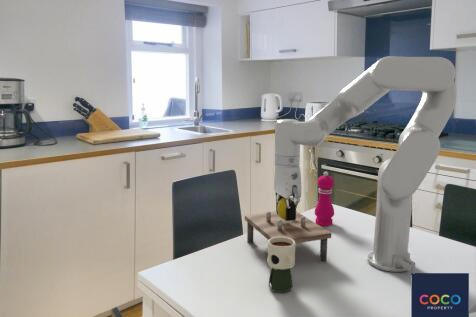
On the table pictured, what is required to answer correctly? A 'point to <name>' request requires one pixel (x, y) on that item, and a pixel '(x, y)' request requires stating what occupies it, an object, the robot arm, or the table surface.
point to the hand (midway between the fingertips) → (286, 216)
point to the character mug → (281, 262)
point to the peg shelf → (288, 229)
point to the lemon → (282, 208)
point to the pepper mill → (324, 201)
